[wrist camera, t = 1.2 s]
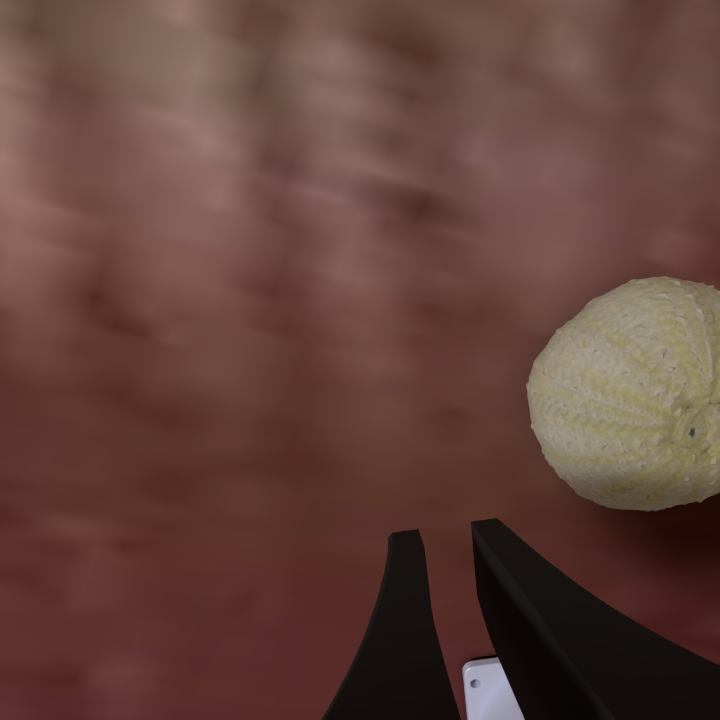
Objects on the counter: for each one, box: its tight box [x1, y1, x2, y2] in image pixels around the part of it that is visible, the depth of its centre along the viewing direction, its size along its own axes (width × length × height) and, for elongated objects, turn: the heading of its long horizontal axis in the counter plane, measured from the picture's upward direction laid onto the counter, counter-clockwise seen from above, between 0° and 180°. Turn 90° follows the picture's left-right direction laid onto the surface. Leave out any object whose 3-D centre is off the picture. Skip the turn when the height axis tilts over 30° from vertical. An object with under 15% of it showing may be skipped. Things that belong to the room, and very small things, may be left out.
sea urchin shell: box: [526, 276, 720, 512], centre depth 19 cm, size 9×8×8 cm
